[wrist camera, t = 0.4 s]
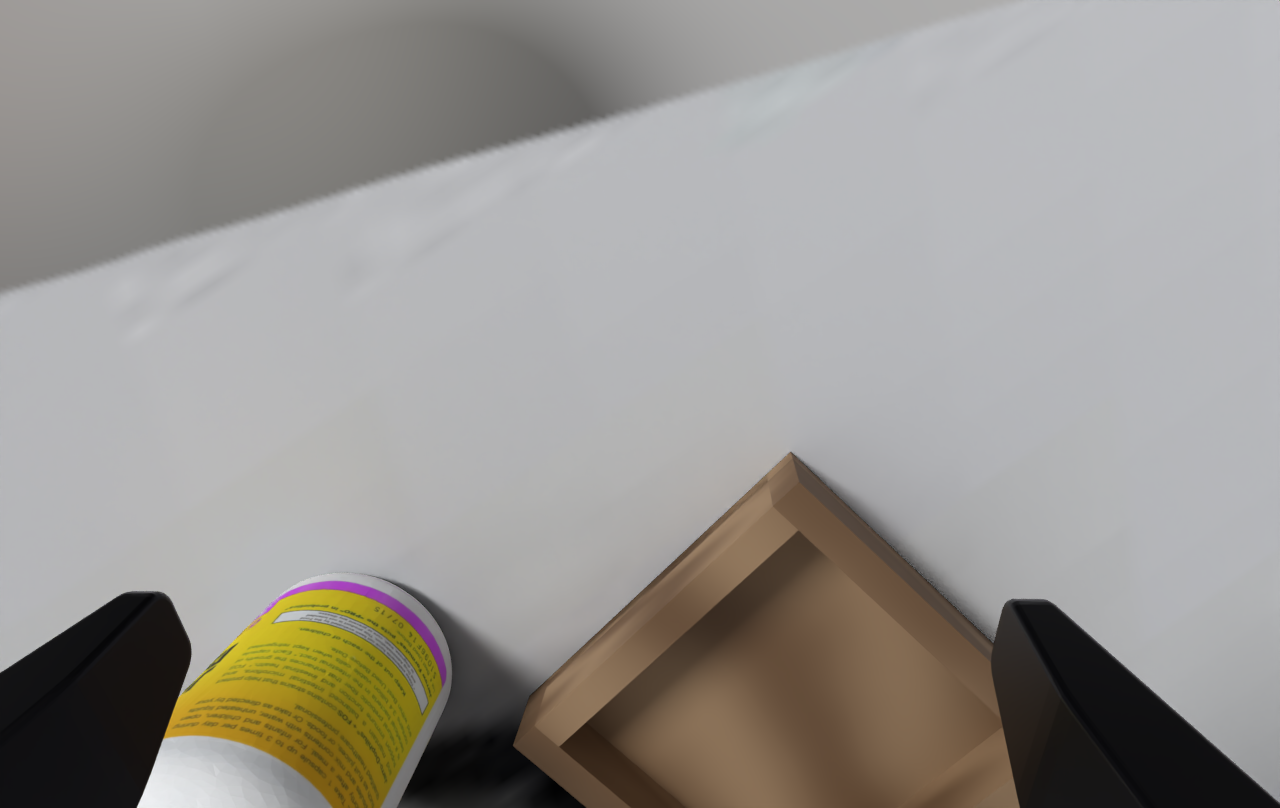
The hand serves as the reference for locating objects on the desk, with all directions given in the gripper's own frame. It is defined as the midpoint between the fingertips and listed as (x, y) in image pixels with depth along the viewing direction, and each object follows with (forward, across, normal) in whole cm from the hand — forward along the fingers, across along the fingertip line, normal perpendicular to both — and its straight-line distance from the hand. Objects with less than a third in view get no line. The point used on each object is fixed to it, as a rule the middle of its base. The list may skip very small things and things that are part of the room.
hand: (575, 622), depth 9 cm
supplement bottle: (+13, +10, +16) cm, 23 cm away
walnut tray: (+12, -4, +17) cm, 21 cm away
